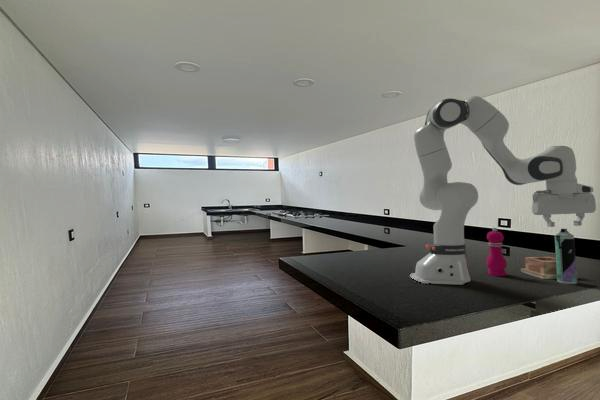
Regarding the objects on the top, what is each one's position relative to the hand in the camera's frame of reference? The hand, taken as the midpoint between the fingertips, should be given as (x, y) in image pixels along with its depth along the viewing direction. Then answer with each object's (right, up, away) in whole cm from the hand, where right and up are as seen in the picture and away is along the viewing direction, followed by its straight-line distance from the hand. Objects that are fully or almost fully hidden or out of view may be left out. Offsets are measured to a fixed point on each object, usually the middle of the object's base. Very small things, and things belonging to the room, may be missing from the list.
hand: (564, 226), depth 110 cm
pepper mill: (-15, -22, +15) cm, 31 cm away
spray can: (0, -21, -1) cm, 21 cm away
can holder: (+3, -21, +11) cm, 24 cm away
